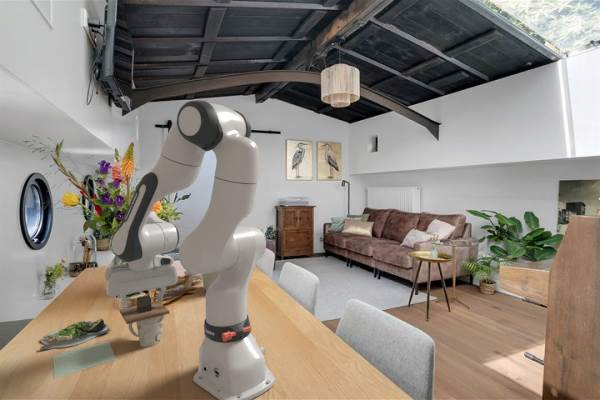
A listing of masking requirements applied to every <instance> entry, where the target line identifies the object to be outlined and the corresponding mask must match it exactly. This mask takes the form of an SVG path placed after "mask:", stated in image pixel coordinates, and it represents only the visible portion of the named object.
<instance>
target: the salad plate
mask: <svg viewBox="0 0 600 400" xmlns="http://www.w3.org/2000/svg"><path fill="white" fill-rule="evenodd" d="M109 332H111V329H110V327H109V325H108V324H105V321H104V319H103V318H99V319H97V320H95V321H94V320H85V321H79V322H74V323H72V324H70V325H67V326H66V327H63V328H61V329H58V330H55V331H53V332H50V333H47V334H45V335H44V336H42V338H41V340H40V343H42V345H43V346H40V347H39V349H40V350H41V351H42V350H44V351H45V350H51V349H52V350H53V349H64V348H65V349H66V348H71V347H77V346H79V345H82V344H85V343H86V342H89V341H91V340H93V339H96V338H98V337H101V336H104V335H105V334H107V333H109ZM51 339H52V340H53V339H56V340H55V342H51V341H50V340H51Z"/></svg>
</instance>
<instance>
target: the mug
mask: <svg viewBox="0 0 600 400" xmlns="http://www.w3.org/2000/svg"><path fill="white" fill-rule="evenodd" d="M164 319H165V315H162V316H158V317H154V318H150V319H146V320H142V321H138V322H135V323H136V328H137V332H136V331H135V330H134V327H133V324H134V323H130V324H128V331H129V332H130V333H131V334H132V335H133V336H134V337H138V340H139V345H140V347H142V348H150V347H154V346H156V345H158V344H160V343H161V342H162V337H163V327H164Z"/></svg>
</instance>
